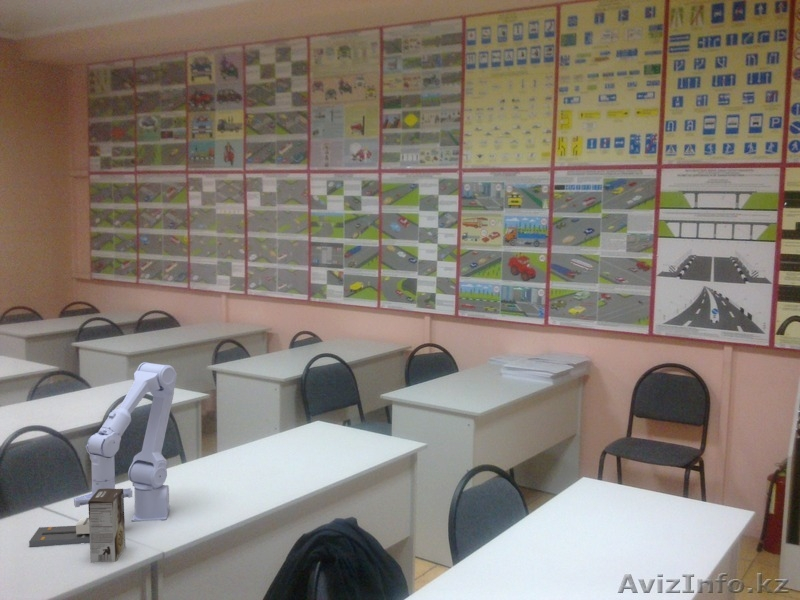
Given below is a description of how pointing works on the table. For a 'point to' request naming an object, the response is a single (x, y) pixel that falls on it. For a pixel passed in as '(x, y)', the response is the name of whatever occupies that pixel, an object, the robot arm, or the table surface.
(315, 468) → the table surface
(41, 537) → the fader panel
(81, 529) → the fader knob
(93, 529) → the coffee box
